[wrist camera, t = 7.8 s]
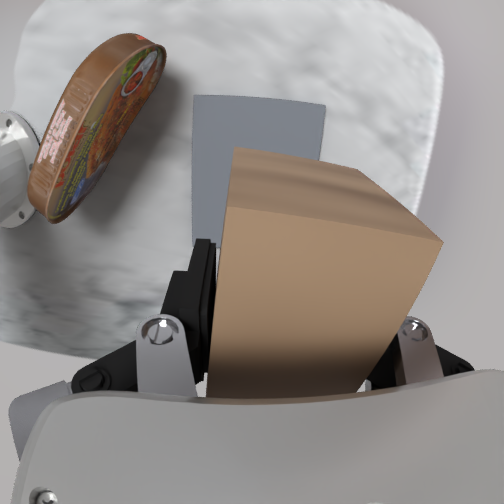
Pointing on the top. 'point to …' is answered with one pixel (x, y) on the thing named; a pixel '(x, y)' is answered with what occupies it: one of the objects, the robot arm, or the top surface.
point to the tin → (92, 122)
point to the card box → (309, 278)
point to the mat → (246, 136)
